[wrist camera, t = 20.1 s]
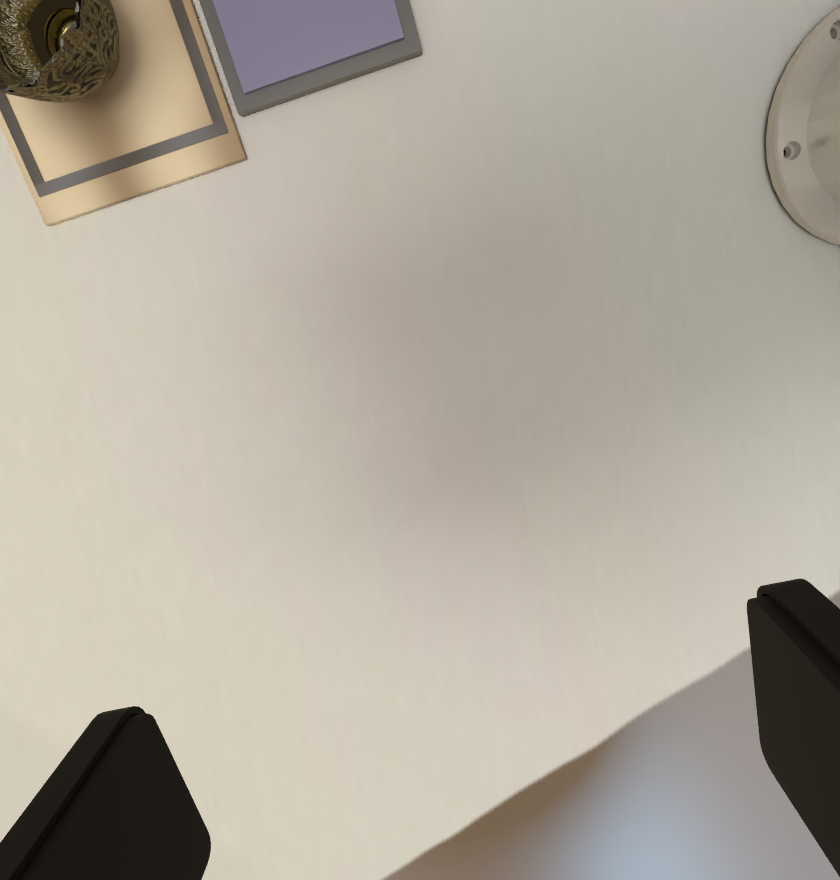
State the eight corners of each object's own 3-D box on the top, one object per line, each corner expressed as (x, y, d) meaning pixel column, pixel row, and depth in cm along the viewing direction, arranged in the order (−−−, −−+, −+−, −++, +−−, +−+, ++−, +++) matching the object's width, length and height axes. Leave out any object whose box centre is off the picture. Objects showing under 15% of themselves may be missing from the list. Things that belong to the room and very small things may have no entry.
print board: (140, -150, 28) (134, -157, 27) (247, 159, 31) (244, 157, 31) (-80, -61, 29) (-88, -67, 28) (50, 226, 33) (44, 225, 32)
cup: (22, -55, 28) (-130, -173, 21) (170, -12, 29) (75, -112, 21) (14, 110, 30) (-125, 58, 23) (152, 148, 31) (61, 110, 23)
